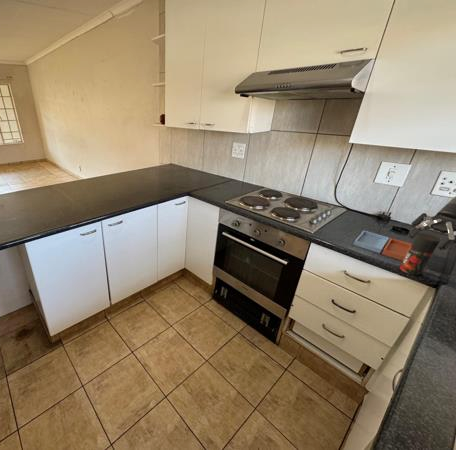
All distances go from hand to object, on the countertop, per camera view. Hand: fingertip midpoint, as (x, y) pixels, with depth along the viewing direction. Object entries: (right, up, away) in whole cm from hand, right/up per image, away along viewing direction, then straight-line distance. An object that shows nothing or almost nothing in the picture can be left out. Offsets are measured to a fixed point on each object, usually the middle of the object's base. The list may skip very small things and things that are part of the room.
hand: (425, 242), depth 90 cm
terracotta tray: (+8, -5, +17) cm, 20 cm away
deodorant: (0, -11, +6) cm, 13 cm away
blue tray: (+1, -2, +24) cm, 24 cm away
